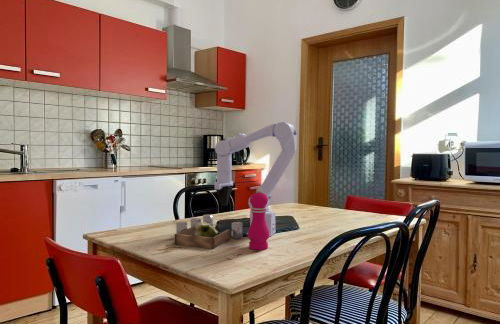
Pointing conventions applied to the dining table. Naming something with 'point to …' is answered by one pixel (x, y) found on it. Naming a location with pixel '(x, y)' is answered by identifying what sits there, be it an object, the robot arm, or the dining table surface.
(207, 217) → the grey metal cylinder
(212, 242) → the tray
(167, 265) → the dining table surface
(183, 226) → the tin right far
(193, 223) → the tin right near
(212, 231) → the pale green lumpy ball
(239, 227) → the tin left
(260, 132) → the robot arm
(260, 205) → the pepper mill
